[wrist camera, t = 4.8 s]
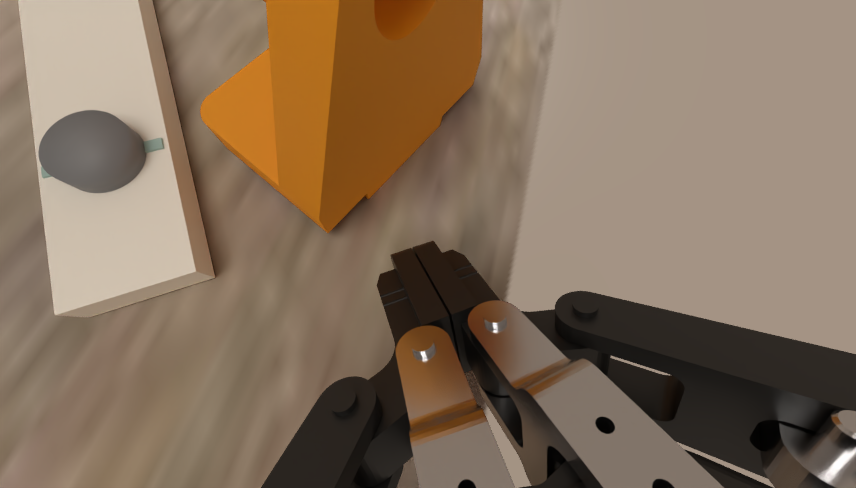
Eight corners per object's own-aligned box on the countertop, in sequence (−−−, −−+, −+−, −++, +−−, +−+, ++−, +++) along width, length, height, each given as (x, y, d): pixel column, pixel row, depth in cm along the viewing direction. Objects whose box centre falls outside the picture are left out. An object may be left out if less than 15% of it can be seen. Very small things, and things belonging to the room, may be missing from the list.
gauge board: (89, 317, 14) (26, 313, 12) (32, -93, 19) (-20, -153, 17) (215, 277, 15) (180, 266, 13) (128, -105, 20) (92, -165, 18)
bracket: (369, 20, 20) (332, -436, 8) (469, 95, 19) (585, -286, 7) (220, 145, 17) (-164, -276, 5) (331, 238, 16) (167, -10, 5)
